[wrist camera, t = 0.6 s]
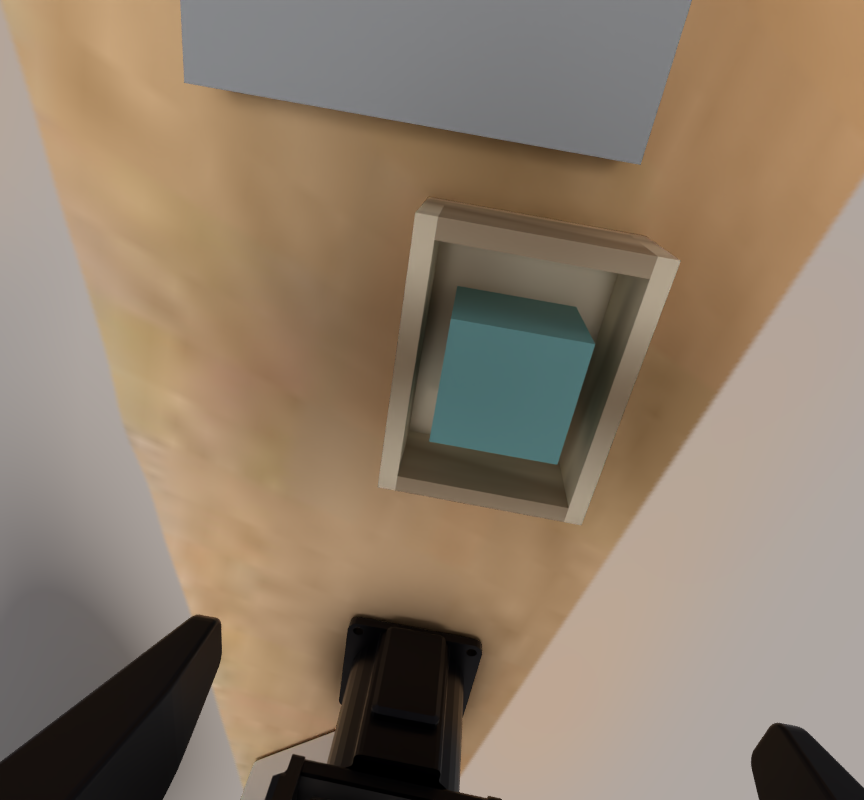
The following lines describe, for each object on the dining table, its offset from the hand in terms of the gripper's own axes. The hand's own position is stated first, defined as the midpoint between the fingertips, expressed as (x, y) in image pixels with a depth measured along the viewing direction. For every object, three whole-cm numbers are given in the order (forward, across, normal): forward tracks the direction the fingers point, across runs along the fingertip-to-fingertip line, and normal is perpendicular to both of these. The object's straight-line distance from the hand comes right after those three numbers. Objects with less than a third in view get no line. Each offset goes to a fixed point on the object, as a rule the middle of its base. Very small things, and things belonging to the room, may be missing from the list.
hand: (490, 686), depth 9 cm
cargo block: (+12, 0, -2) cm, 12 cm away
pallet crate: (+13, 0, -2) cm, 13 cm away
